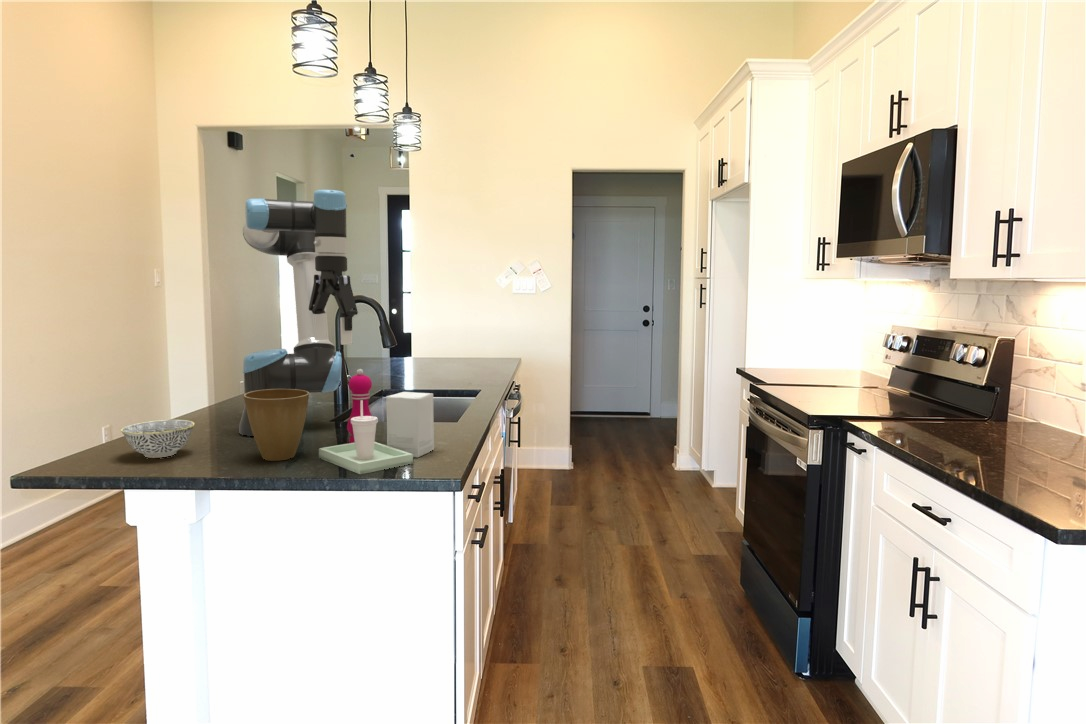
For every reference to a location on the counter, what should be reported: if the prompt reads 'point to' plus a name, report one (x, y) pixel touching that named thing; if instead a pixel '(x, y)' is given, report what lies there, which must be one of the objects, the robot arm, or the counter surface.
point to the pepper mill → (359, 398)
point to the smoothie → (364, 434)
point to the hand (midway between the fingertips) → (332, 342)
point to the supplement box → (410, 422)
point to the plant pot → (277, 420)
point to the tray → (381, 459)
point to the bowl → (158, 436)
